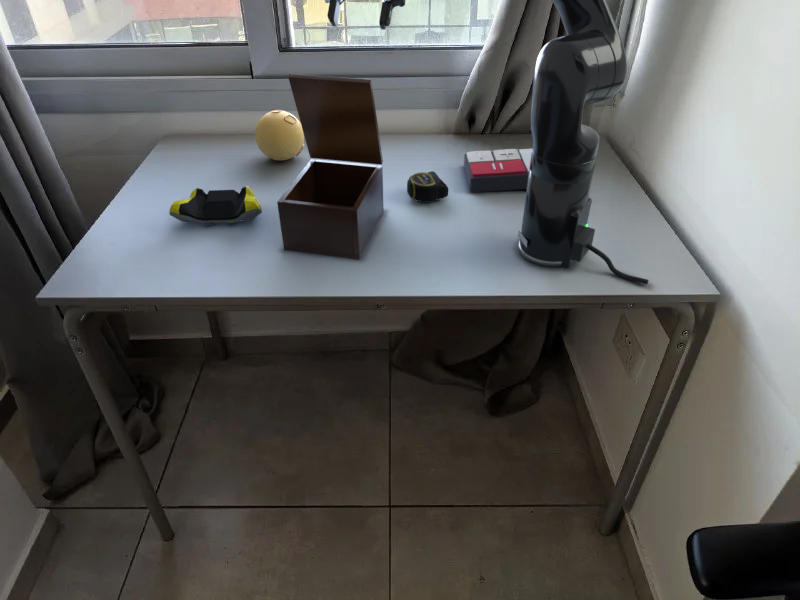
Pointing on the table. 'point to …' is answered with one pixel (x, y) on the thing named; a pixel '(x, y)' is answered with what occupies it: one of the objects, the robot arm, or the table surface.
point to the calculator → (497, 169)
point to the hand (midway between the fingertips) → (357, 25)
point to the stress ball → (279, 135)
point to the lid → (338, 117)
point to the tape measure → (426, 187)
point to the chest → (332, 208)
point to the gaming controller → (217, 206)
